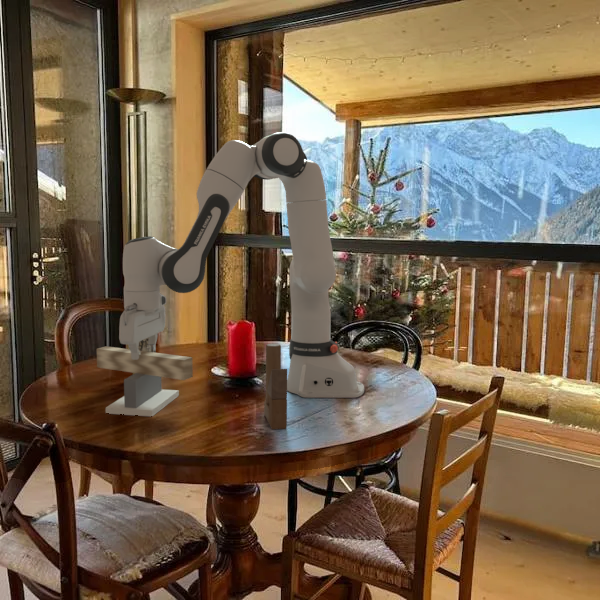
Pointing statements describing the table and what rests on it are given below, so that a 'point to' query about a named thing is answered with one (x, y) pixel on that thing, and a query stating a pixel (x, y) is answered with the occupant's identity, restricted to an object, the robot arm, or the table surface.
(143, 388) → the ridge stand
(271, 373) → the wooden block
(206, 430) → the table surface
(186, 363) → the beige zigzag bar
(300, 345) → the robot arm
